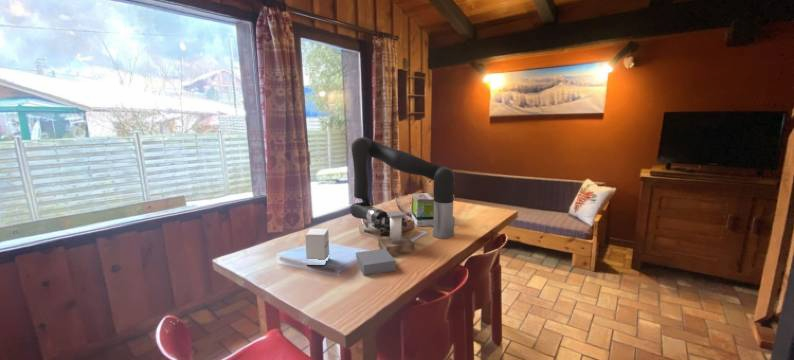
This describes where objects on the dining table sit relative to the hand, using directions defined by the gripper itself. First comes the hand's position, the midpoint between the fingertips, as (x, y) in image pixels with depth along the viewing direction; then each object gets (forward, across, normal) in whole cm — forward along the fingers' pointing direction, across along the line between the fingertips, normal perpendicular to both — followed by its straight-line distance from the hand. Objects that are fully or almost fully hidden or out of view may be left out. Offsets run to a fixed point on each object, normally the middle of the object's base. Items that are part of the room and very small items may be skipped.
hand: (397, 226), depth 137 cm
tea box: (-25, +34, +11) cm, 43 cm away
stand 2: (-2, 0, +11) cm, 11 cm away
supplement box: (-8, -32, +11) cm, 35 cm away
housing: (-2, 0, +7) cm, 7 cm away
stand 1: (+8, -16, +11) cm, 21 cm away
